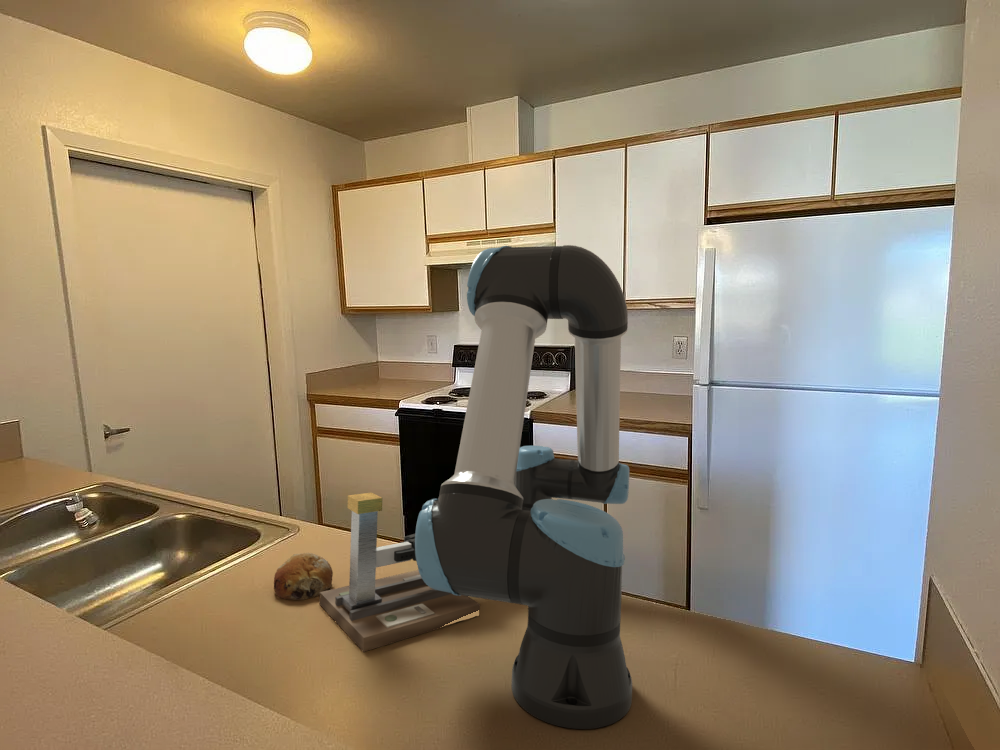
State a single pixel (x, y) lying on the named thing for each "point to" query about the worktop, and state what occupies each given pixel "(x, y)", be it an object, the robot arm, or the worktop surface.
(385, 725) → the worktop surface
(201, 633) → the worktop surface
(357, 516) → the lever
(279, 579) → the bread roll
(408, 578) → the switch board
